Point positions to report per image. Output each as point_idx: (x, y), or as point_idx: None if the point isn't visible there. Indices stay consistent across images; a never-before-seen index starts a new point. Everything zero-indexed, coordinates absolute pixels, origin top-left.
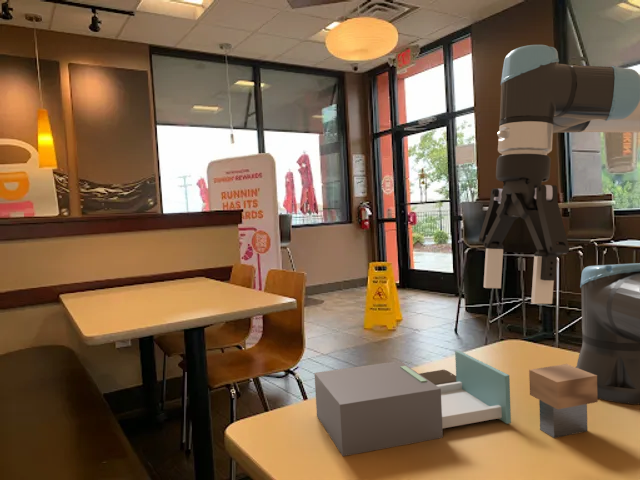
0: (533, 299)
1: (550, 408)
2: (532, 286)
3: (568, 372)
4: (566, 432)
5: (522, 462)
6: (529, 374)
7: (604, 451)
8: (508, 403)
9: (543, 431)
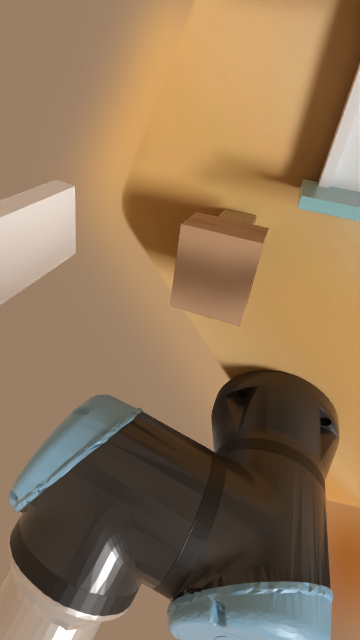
0: (52, 184)
1: None
2: (28, 205)
3: (205, 286)
4: None
5: (198, 91)
6: (263, 240)
7: (166, 231)
8: (300, 191)
9: (248, 214)
